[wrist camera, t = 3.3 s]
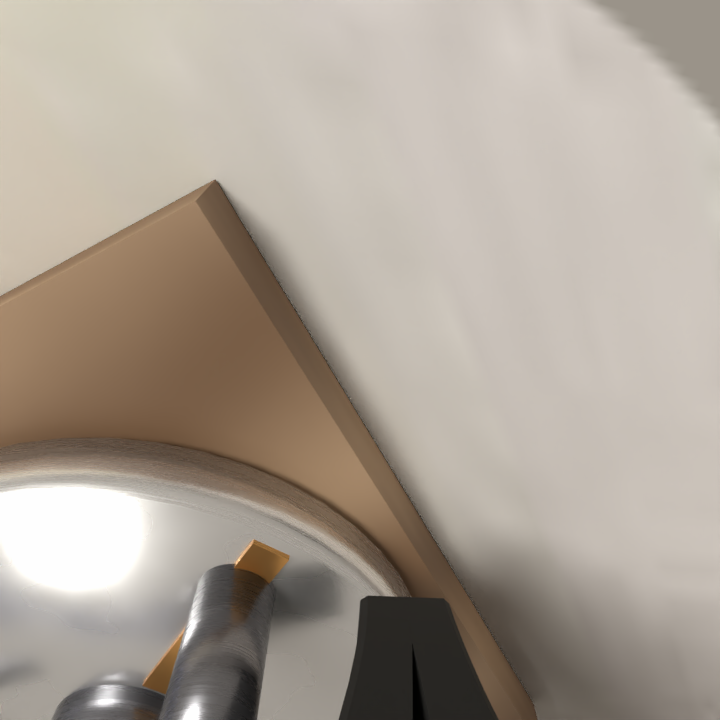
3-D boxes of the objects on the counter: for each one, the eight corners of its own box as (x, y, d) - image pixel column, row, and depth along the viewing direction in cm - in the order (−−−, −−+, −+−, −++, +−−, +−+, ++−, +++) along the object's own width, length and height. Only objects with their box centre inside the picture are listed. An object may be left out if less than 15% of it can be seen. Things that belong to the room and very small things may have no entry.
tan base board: (-310, 465, 14) (-402, 525, 12) (215, 179, 11) (188, 207, 9) (144, 816, 21) (126, 884, 19) (533, 704, 18) (551, 773, 16)
